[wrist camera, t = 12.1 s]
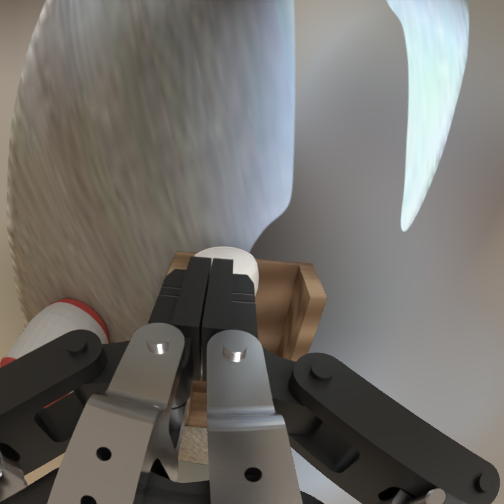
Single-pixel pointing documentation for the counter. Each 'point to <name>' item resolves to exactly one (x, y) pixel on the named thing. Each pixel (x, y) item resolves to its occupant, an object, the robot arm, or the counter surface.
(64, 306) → the citrus juicer
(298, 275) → the brown wooden open box
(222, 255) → the bottle
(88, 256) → the counter surface
